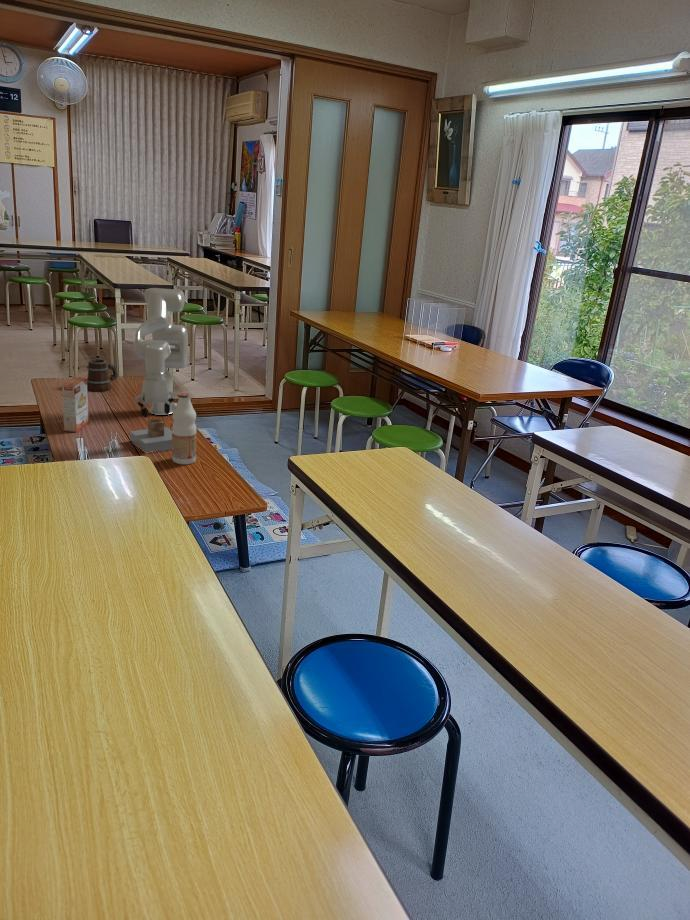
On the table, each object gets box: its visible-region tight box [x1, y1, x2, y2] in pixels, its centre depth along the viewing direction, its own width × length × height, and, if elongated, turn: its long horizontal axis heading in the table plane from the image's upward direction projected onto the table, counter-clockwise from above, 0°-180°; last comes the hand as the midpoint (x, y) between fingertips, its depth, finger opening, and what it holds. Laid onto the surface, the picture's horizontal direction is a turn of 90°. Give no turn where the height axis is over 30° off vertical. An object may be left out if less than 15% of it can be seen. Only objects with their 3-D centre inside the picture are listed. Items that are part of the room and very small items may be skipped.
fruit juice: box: [171, 391, 197, 465], centre depth 267 cm, size 9×9×28 cm
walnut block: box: [147, 418, 165, 437], centre depth 283 cm, size 5×5×6 cm
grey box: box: [129, 426, 172, 452], centre depth 285 cm, size 16×16×5 cm
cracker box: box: [61, 376, 89, 433], centre depth 293 cm, size 14×6×21 cm, turn 179°
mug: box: [86, 358, 118, 393], centre depth 351 cm, size 16×12×15 cm
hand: (155, 415), depth 282 cm, fingers open, 9 cm apart
